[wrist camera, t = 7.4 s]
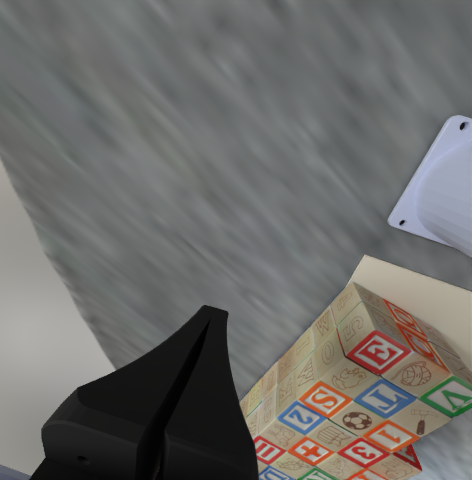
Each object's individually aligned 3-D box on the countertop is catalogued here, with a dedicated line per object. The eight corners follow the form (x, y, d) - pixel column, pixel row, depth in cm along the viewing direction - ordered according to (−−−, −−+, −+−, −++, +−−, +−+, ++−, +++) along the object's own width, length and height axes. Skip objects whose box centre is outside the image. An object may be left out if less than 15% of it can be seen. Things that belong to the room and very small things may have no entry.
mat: (530, 311, 20) (532, 313, 20) (368, 467, 31) (369, 469, 30) (364, 254, 21) (365, 255, 20) (262, 426, 31) (262, 427, 31)
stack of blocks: (374, 328, 16) (533, 417, 16) (350, 278, 21) (467, 345, 22) (226, 465, 24) (331, 521, 25) (237, 403, 30) (322, 450, 31)
